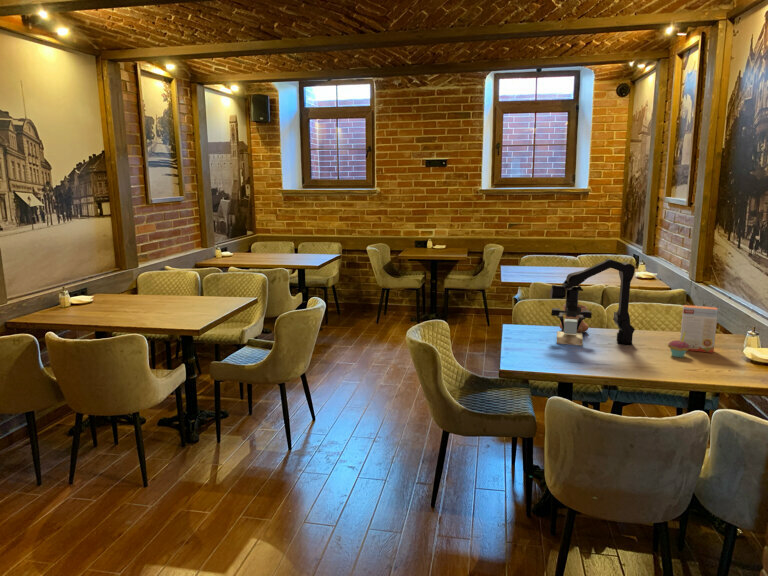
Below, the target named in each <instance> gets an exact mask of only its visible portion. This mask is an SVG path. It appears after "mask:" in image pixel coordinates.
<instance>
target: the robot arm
mask: <svg viewBox="0 0 768 576" xmlns="http://www.w3.org/2000/svg"><path fill="white" fill-rule="evenodd" d="M608 269H612V270H615V271H616V270H617V271H618V276H619V279H620V287H619V298H618V309H617V311H614V312H613V318H612V321H613V322H614V324H615V326H617V329H618V330H617V331H618V332H616V342H617V344H618V345H630V346H631V345H632V346H633V335H634V332H635V331H636V330H635V327H633V325H632V324H631V318H630V314H629V305H630V303H629V302H630V293H631V291H630V290H631V282H632V280H633V278H634V275H635V272H636V268H635V266H634V265H633V264H631V263H629V262H627V261H624V262H619V261H617V260H613V259H611V258H607V259H605V260H603V261H601V262H599V263H596V264H595V265H592V266H590V267H588V268H586V269H584V270H579V271H574V272H571V273H568V274H567V276H566V278H565V280H564V282H562V284H561V285H559V284H551V288H550V291H549V297H550V299H551V300H563V299H565V304H566V307H565V311H564V310H561V308H558V307H552V309H551V315H550V316H554V317H556V318H558V319H559V320H560V323H561V324H562V327H563V330H564V319H565V318H564V315H565V314H566V316H567V317H577V315H579V317H578V323H577V330H578V328H579V326H580V323H581V322H582V320H583V321H584V320H586V319H592V314H593V313H592V311H591V310H588V309H587V310H583V312H581V307H578V304H579V295H580V294H579V293H580V292H583V291H584V288H582V286H581V284H583V283H584V282H585V281H586V280H587V279H589V278H592V277H593V276H595V275H597V274H601V273H602V272H604V271H607V270H608ZM563 330H562V331H563Z"/></svg>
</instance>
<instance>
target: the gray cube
mask: <svg viewBox="0 0 768 576" xmlns="http://www.w3.org/2000/svg"><path fill="white" fill-rule="evenodd" d="M563 319H564V331H563V332H564V333H566V334H577V320H575V319H565V318H563Z"/></svg>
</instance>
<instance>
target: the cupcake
mask: <svg viewBox="0 0 768 576" xmlns="http://www.w3.org/2000/svg"><path fill="white" fill-rule="evenodd" d="M684 336H685V332H684V334H683V337H682V340H680V339H679V340H672V341H670V342H668V345H667V348H669V349H670V352H671V356H673V357H676V358H684V357H685V354H686V353H687V351H690V350H689V344H687V343H686V342H683V339H684Z"/></svg>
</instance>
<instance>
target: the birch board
mask: <svg viewBox="0 0 768 576" xmlns="http://www.w3.org/2000/svg"><path fill="white" fill-rule="evenodd" d="M583 342H584V338H583V333H577V334H566V333H564V331H561V330H560V331H556V344H559V345H561V344H562V345H572V346H573V345H574V346H583Z"/></svg>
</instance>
